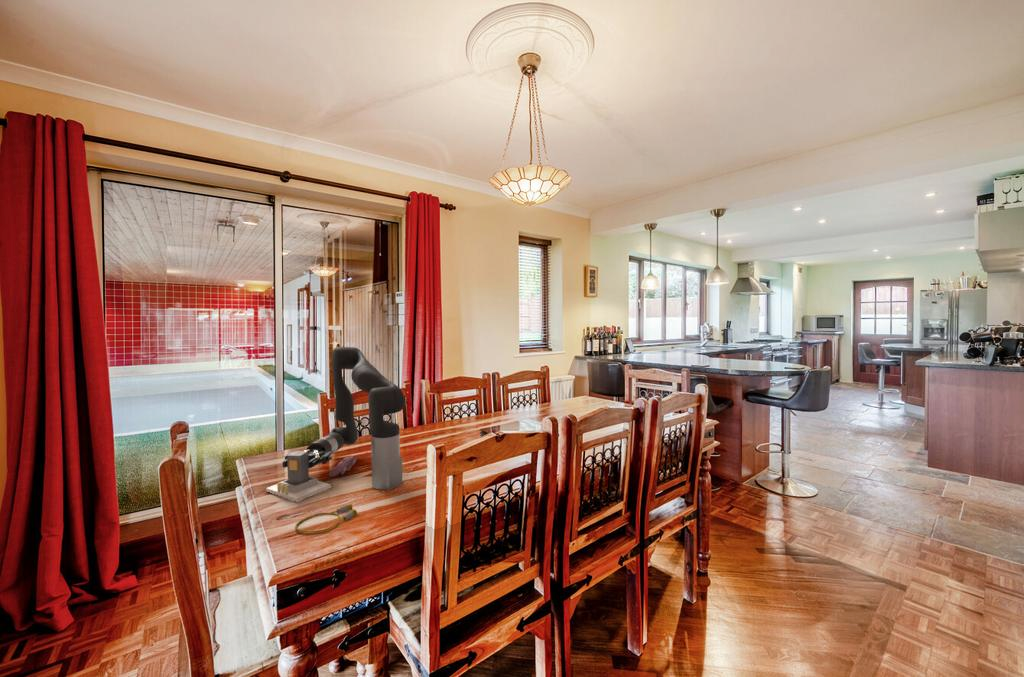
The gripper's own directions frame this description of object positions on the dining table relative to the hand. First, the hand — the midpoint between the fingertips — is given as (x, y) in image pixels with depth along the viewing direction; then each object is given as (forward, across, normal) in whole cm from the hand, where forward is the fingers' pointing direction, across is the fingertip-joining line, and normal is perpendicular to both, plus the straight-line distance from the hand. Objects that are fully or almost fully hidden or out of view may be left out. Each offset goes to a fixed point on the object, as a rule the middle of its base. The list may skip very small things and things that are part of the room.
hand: (296, 464), depth 133 cm
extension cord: (+19, +20, +9) cm, 29 cm away
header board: (-1, 0, +9) cm, 9 cm away
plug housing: (-1, 0, +8) cm, 8 cm away
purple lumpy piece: (-16, +8, +9) cm, 20 cm away
